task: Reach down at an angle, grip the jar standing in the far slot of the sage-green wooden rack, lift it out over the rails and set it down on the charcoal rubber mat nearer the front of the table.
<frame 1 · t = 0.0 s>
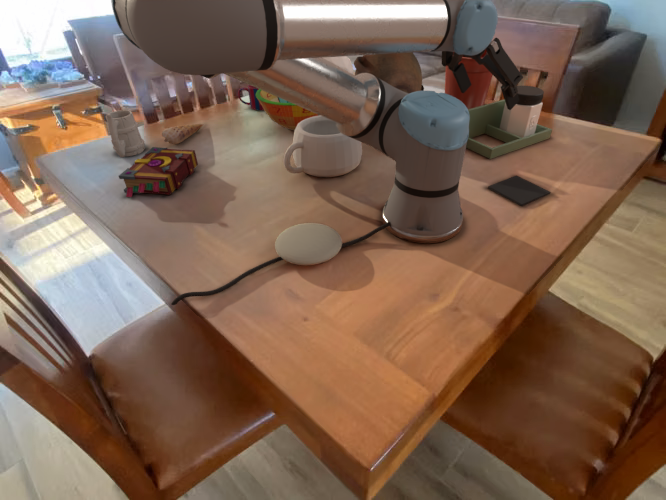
hand: (488, 96, 95), 15 cm above the table, tool tilted 35°, fingers open, 13 cm apart
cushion: (309, 250, 77), on the table
mug 2: (320, 168, 103), on the table
decorative book: (163, 181, 100), on the table
jar: (515, 136, 115), resting in rack
rack: (501, 140, 113), on the table
geometric sphere: (332, 94, 147), on the table
mat: (518, 191, 92), on the table
mug: (129, 154, 112), on the table
seashell: (187, 138, 120), on the table
jug: (392, 119, 128), on the table
cup: (256, 107, 138), on the table
flower pot: (463, 106, 135), on the table
bowl: (298, 126, 125), on the table
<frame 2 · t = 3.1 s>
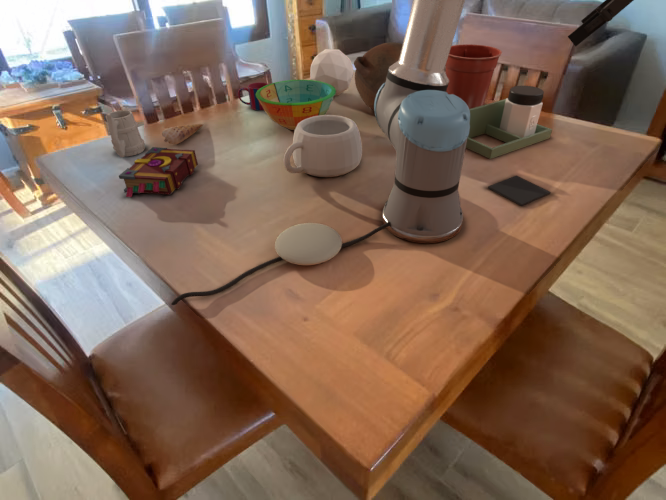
hand: (578, 33, 94), 26 cm above the table, tool tilted 40°, fingers open, 13 cm apart
nothing on the table moved.
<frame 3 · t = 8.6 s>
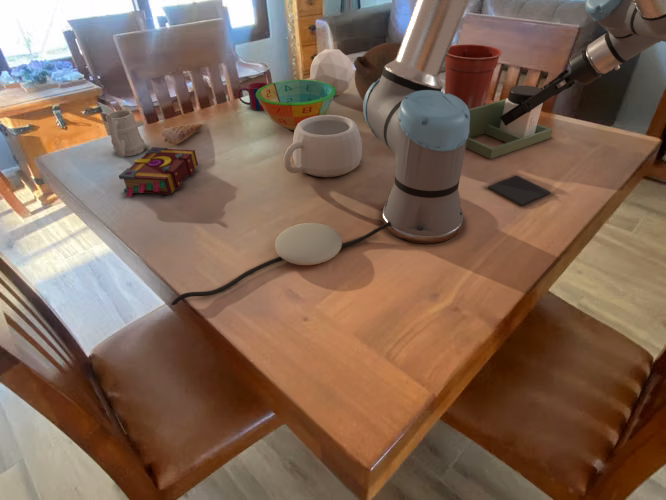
hand: (512, 113, 113), 6 cm above the table, tool tilted 45°, fingers open, 13 cm apart
nothing on the table moved.
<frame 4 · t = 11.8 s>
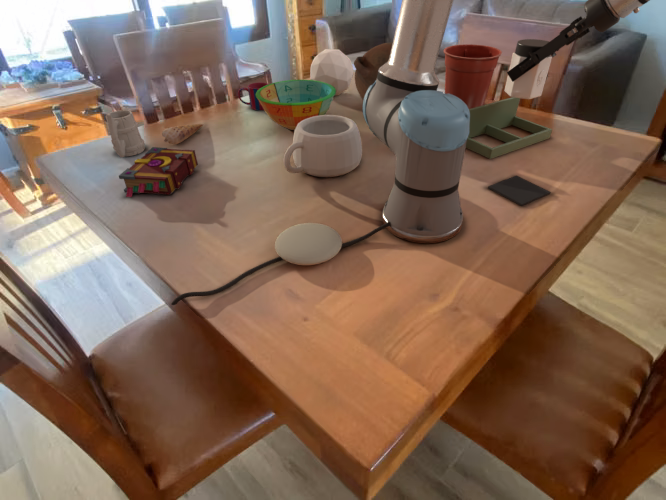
hand: (517, 72, 107), 16 cm above the table, tool tilted 45°, fingers closed on jar, 8 cm apart
jar: (522, 94, 109), point 11 cm above the table, touching gripper
everything else where it was.
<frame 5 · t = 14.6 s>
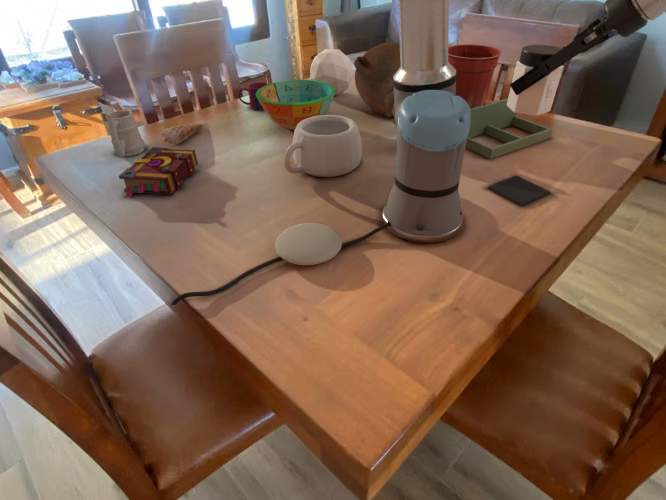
hand: (521, 84, 91), 19 cm above the table, tool tilted 45°, fingers closed on jar, 8 cm apart
jar: (527, 109, 93), point 14 cm above the table, touching gripper
everything else where it was.
when the fingers open (5 cm above the table, at t = 20.1 s): jar stays where it is, resting on mat.
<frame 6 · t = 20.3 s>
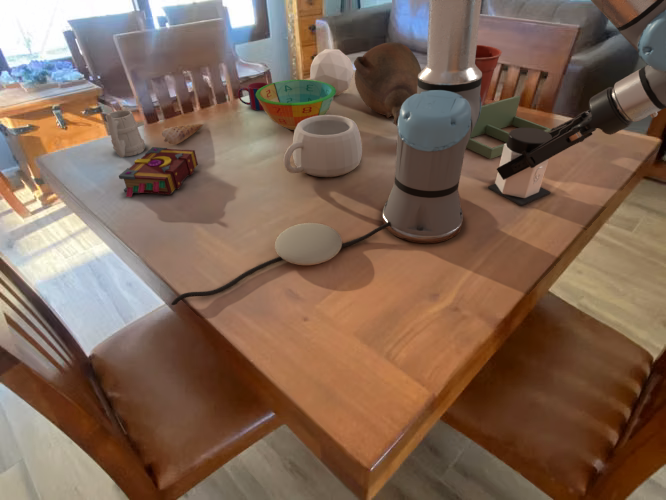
hand: (509, 164, 90), 5 cm above the table, tool tilted 45°, fingers open, 9 cm apart
jar: (516, 189, 92), resting on mat
everything else where it was.
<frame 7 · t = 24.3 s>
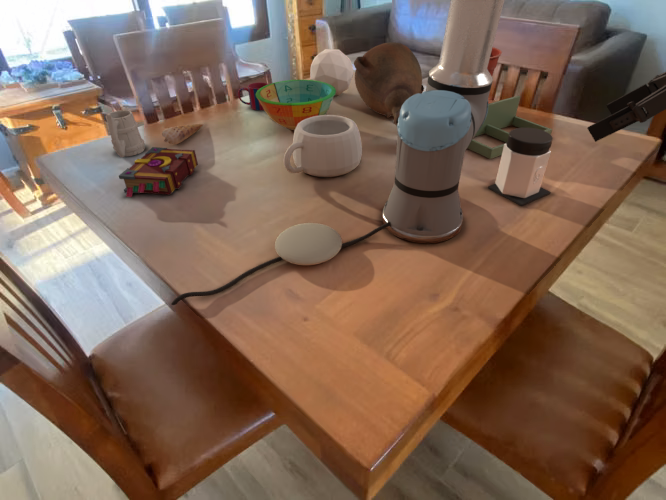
hand: (601, 122, 76), 18 cm above the table, tool tilted 45°, fingers open, 13 cm apart
nothing on the table moved.
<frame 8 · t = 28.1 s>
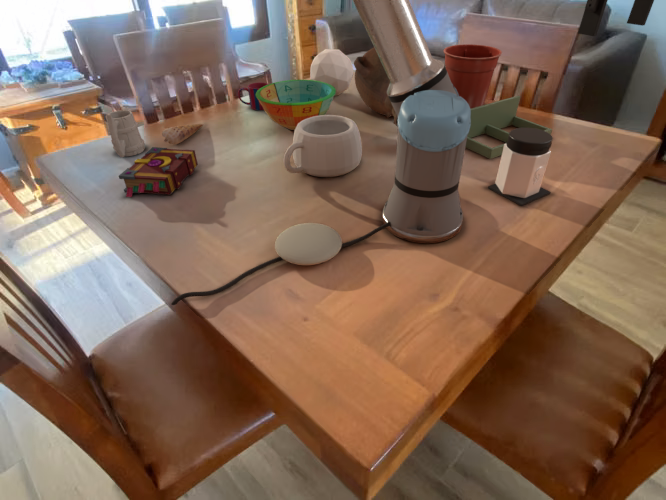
hand: (612, 29, 71), 32 cm above the table, tool pointing down, fingers open, 13 cm apart
nothing on the table moved.
at the end: jar inside the target area on the mat (0.5 cm from its centre), point 0.3 cm above the mat's base; jar tilted 0°; jar touching mat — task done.
